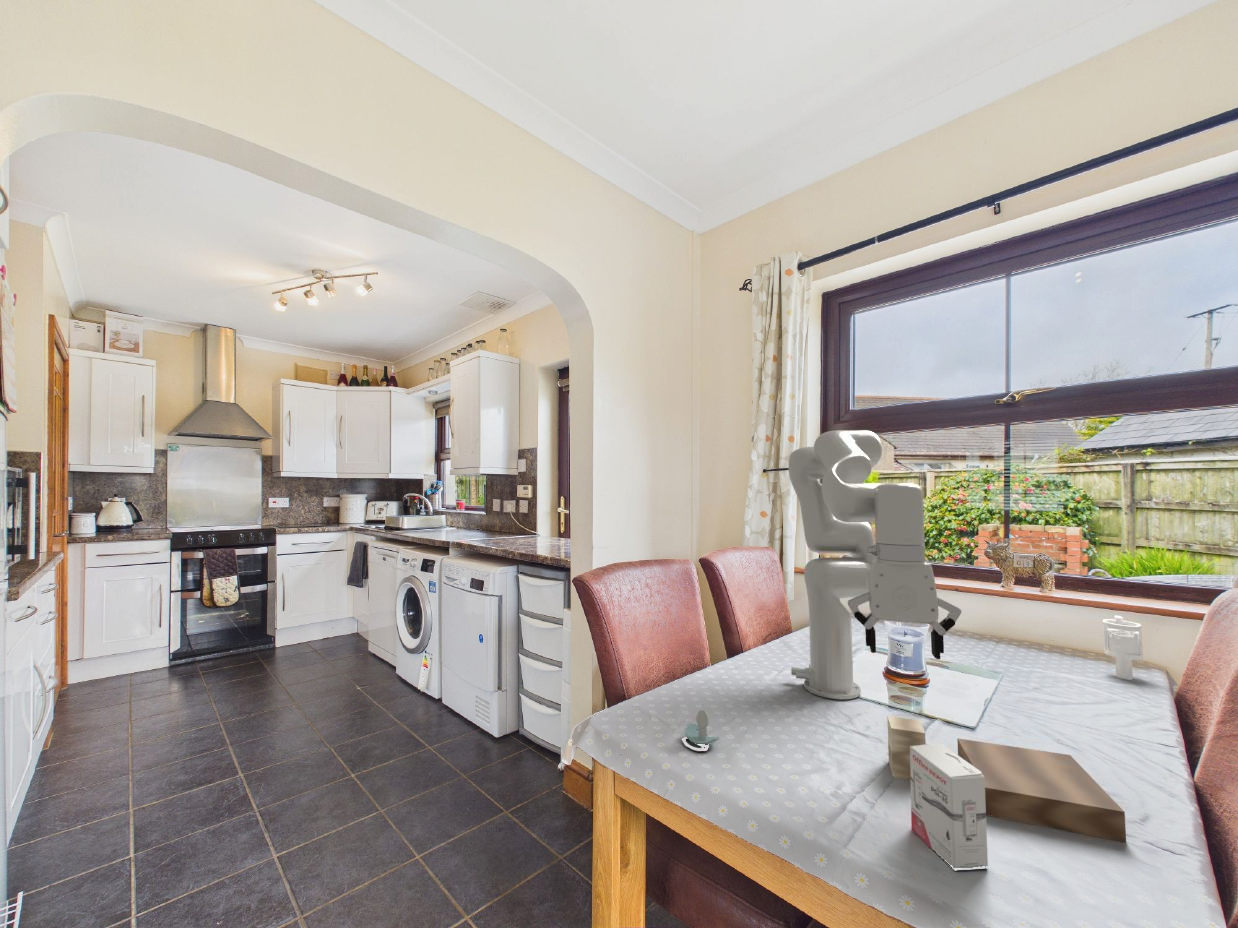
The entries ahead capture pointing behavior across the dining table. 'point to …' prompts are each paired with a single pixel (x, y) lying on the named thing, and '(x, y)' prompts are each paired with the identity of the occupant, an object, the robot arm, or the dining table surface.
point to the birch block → (903, 744)
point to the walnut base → (1043, 790)
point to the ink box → (948, 805)
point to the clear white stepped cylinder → (1123, 645)
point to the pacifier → (700, 730)
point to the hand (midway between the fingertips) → (903, 653)
